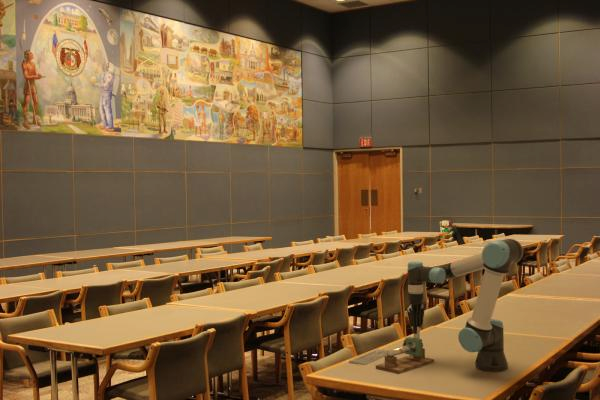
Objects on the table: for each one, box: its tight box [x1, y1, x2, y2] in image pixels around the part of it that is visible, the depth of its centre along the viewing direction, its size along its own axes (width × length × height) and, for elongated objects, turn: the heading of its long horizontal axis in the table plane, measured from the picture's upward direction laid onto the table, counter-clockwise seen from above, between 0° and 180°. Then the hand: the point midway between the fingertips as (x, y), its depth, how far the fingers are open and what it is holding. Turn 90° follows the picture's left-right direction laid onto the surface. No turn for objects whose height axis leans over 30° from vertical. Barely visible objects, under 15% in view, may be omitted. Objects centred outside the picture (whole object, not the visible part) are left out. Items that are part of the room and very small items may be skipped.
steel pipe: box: [386, 343, 424, 357], centre depth 338 cm, size 24×3×3 cm, turn 133°
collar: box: [404, 336, 423, 356], centre depth 342 cm, size 3×8×8 cm, turn 43°
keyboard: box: [348, 348, 388, 366], centre depth 355 cm, size 29×10×2 cm, turn 145°
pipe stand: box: [375, 347, 435, 375], centre depth 338 cm, size 28×14×6 cm, turn 133°
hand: (416, 339), depth 344 cm, fingers closed
